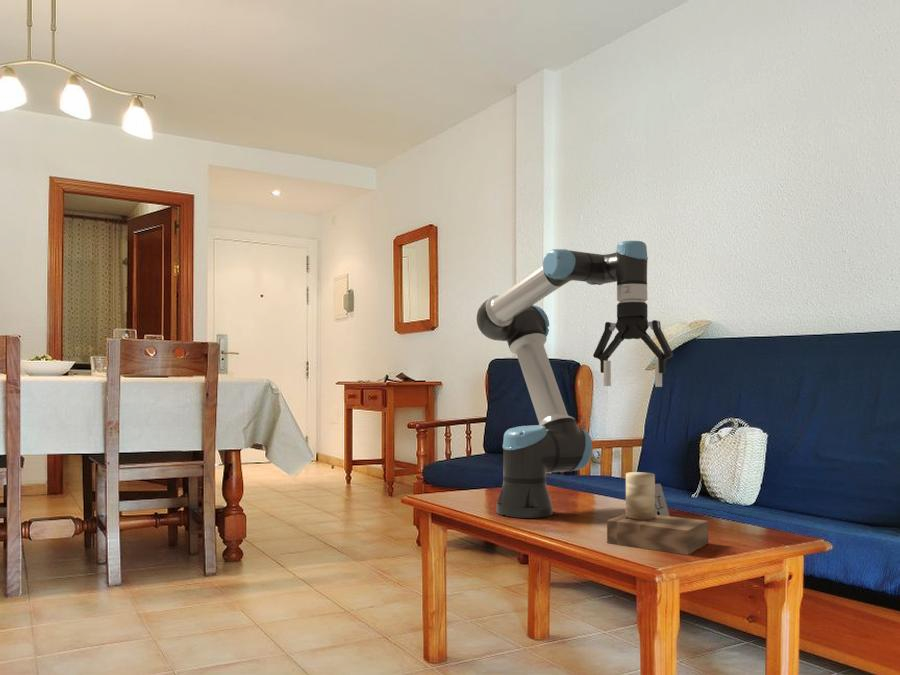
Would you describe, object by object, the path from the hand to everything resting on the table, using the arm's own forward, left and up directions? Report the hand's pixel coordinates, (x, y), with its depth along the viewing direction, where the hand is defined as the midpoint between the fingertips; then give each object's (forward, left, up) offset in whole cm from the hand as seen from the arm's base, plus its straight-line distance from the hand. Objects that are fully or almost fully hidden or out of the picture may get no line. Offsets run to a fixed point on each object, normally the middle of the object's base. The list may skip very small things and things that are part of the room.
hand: (632, 386), depth 186 cm
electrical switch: (+1, +11, -35) cm, 37 cm away
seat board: (+12, -15, -35) cm, 40 cm away
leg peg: (+8, -15, -34) cm, 38 cm away
